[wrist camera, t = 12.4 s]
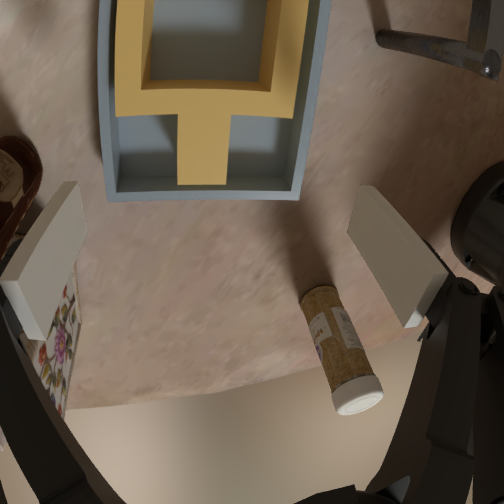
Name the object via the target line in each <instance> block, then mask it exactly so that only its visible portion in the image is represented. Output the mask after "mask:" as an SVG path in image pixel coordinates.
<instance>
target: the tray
mask: <svg viewBox="0 0 504 504" xmlns="http://www.w3.org/2000/svg"><path fill="white" fill-rule="evenodd" d="M330 8H331V0H309V5H308V12H307V20H306V27H305V35H304V42H303V49H302V57H301V64H300V71H299V78H298V85H297V92H296V99H295V105H294V112H293V119H291V118H279V117H266V116H249V115H231V123H230V136H229V149H228V163H227V177H226V185H178V184H177V135H178V114H162V115H138V116H121V117H116V114H115V33H116V14H117V0H100V4H99V21H98V57H97V68H98V105H99V123H100V137H101V149H102V159H103V169H104V177H105V185H106V193H107V200H108V202H123V201H152V200H208V199H250V200H299V196H300V191H301V186H302V180H303V175H304V170H305V164H306V159H307V153H308V148H309V142H310V136H311V131H312V125H313V119H314V113H315V107H316V101H317V95H318V89H319V82H320V76H321V70H322V63H323V57H324V50H325V43H326V36H327V29H328V22H329V15H330ZM266 9H267V0H155V1H154V13H153V28H152V46H151V73H150V80H231V81H248V82H258V78H259V69H260V60H261V52H262V43H263V34H264V26H265V17H266Z"/></svg>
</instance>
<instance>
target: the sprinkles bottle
mask: <svg viewBox="0 0 504 504" xmlns="http://www.w3.org/2000/svg"><path fill="white" fill-rule="evenodd" d="M300 306H301V310H302V311H303V313H304V315H305V318H306V320H307V323H308V326H309V330H310V333H311V336H312V339H313V341H314V344H315V347H316V350H317V353H318V355H319V358H320V361H321V364H322V365H323V368H324V371H325V374H326V377H327V379H328V382H329V385H330V388H331V393H332V401H333V404H334V406H335V409H336V411H337V413H338V414H340V415H351V414H355V413H359V412H361V411H364V410H366V409H368V408H370V407H372V406H373V405H375V404H376V403H378V402H379V401H380V400H381V399H382V397H383V395H384V392H383V389H382V387H381V384H380V382H379V379H378V378H377V377H376V375H375V374H374V373H373V371H372V368H371V366H370V364H369V361H368V359H367V357H366V354H365V350H364V348H363V346H362V344H361V342H360V339H359V337H358V335H357V333H356V331H355V328H354V326H353V324H352V322H351V320H350V318H349V315H348V313H347V311H346V310H345V309H344V307H343V305H342V302H341V300H340V299H339V294H338V291H337V290H336V289H335V288H333V287H331V286H320V287H316V288H314V289H312V290H310V291H309V292H308V293H306V294H305V296H304V297H303V298H302V301H301V304H300Z"/></svg>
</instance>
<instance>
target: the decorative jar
mask: <svg viewBox="0 0 504 504" xmlns="http://www.w3.org/2000/svg"><path fill="white" fill-rule="evenodd" d="M24 237H25V235H19V234H14V236H13V238H12V240H11V242H10V244H9V246H8V248H7V250H8V249H9V247H10V246H11V245H12V244H13V243H15V242H16V241H17V240H18V239H20V238H24ZM7 250H6V252H7ZM5 254H6V253H5ZM4 257H5V255H4ZM81 325H82V319H81V312H80V304H79V294H78V283H77V272H76V262H75V263H74V265H73V268H72V270H71V273H70V275H69V278H68V280H67V283H66V285H65V288H64V290H63V293H62V296H61V298H60V301H59V304H58V307H57V309H56V312H55V315H54V318H53V321H52V324H51V327H50V330H49V333H48V336H47V339H46V341H44V340H34V339H28V337H27V335H26V333H25V332H24V330H23V328H22V331H21V334H20V336H19V337H20V339H21V341H22V342H23V344H24V347H25V349H26V351H27V353H28V355H29V357H30V359H31V362H32V364H33V366H34V368H35V370H36V372H37V374H38V376H39V378H40V379H41V381H42V383H43V385H44V387H45V389H46V391H47V393H48V394H49V396H50V398H51V400H52V401H53V403H54V405H55V407H56V408H57V410H58V412H59V413H60V415H61V417H62V418H63V420H64V417H65V410H66V404H67V398H68V391H69V386H70V381H71V376H72V371H73V366H74V361H75V355H76V351H77V346H78V341H79V335H80V330H81ZM6 441H7V440H6V438H5V436H4V433H3V431H2V429H1V427H0V451H3V450H4V448H5V442H6Z"/></svg>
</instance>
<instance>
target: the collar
mask: <svg viewBox="0 0 504 504" xmlns="http://www.w3.org/2000/svg"><path fill="white" fill-rule="evenodd" d="M154 1H155V0H117V14H116V33H115V114H116V117H121V116H138V115H162V114H178V135H177V184H178V185H226V177H227V163H228V149H229V136H230V123H231V115H249V116H266V117H279V118H291V119H293V112H294V105H295V99H296V92H297V85H298V78H299V71H300V64H301V57H302V49H303V42H304V35H305V27H306V20H307V12H308V5H309V0H267V9H266V17H265V26H264V34H263V43H262V52H261V60H260V69H259V78H258V82H248V81H231V80H150V73H151V46H152V28H153V13H154Z"/></svg>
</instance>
